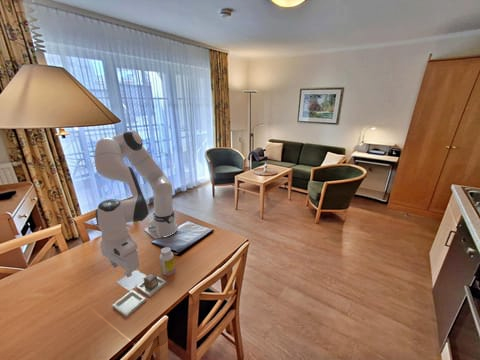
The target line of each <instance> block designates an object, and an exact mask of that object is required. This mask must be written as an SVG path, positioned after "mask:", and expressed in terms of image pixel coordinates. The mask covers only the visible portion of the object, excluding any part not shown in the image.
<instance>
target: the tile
mask: <svg viewBox="0 0 480 360" xmlns="http://www.w3.org/2000/svg"><path fill="white" fill-rule="evenodd" d="M146 276H147V275H146V274H145V273H143V272H141V271H139V270H138V269H136V270H135V271H133V272H132V275H131V276H130V277H126V276H125V275H124V277H122V278H121V279H119V280H118V281H117V282H115V283H117V285H119V286H120V287H123V288H124V290H127V291H129V292H130V291H131V290H134V288H137V287H136V286H138V285H139V284H140V283H142V282H143V281H144V278H145V277H146Z"/></svg>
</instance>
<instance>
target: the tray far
mask: <svg viewBox="0 0 480 360" xmlns="http://www.w3.org/2000/svg"><path fill="white" fill-rule="evenodd" d="M146 301H147V300H146V297H145V296H143V295H142V294H140V293H138V292H137V291H135V290H134V289H132V290H131V291H129V292H127V293H126V294H125V295H123V296H122V297H121V298H119V299H118V300H117V301H116V302H114V303H113V304H112V308H113V309H115V310H116V311H117V312H119V313H120V314H121V315H122V316H124V317H125V318H127V317H129V316H130V315H131V314H132V313H133V312H134V311H136V310H137V309H138V308H139V307H140V306H141V305H143V303H145V302H146Z"/></svg>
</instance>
